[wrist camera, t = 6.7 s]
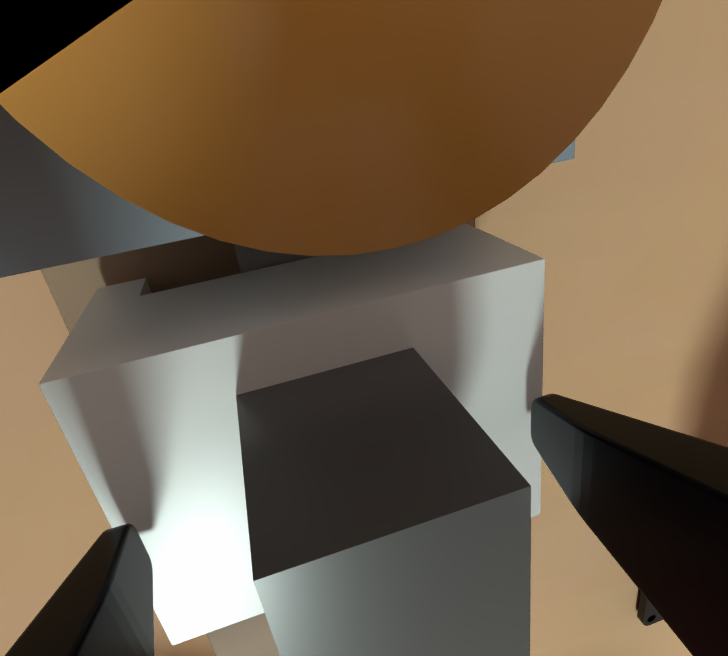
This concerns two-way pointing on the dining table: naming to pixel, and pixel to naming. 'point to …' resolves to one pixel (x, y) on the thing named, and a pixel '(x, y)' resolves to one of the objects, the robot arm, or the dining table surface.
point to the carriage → (324, 444)
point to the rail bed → (112, 263)
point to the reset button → (314, 106)
